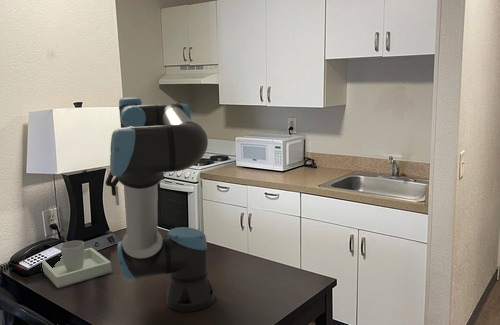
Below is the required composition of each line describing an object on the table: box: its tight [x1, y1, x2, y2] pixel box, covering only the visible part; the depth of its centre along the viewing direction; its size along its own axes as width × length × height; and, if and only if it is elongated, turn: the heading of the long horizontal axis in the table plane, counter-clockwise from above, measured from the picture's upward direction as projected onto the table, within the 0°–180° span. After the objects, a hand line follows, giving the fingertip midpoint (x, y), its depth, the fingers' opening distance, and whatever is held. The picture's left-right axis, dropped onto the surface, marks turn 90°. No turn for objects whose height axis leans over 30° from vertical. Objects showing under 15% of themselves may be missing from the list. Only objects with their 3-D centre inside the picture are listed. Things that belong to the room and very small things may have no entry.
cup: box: [60, 240, 85, 273], centre depth 168 cm, size 8×8×10 cm
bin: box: [40, 247, 113, 289], centre depth 169 cm, size 19×19×4 cm
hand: (137, 201), depth 162 cm, fingers open, 13 cm apart
